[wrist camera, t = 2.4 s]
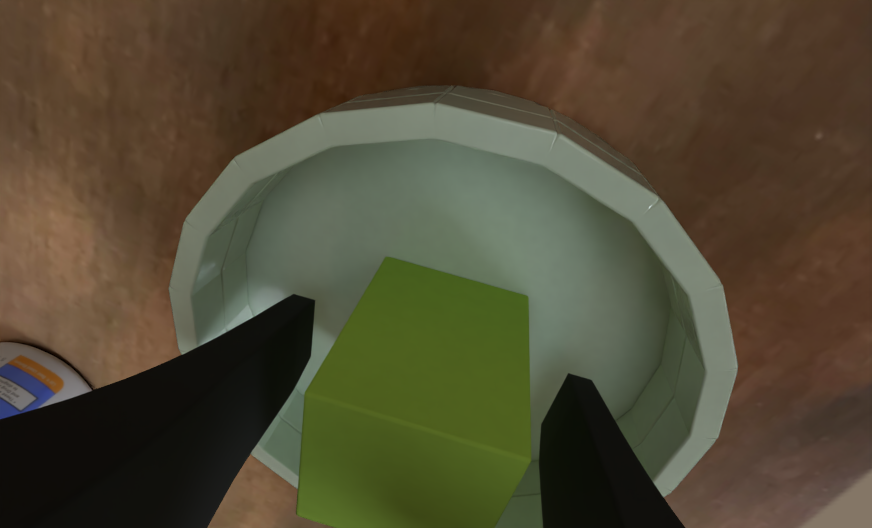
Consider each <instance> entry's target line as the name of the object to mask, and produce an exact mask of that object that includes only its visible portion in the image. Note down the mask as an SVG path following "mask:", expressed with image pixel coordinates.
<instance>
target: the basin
mask: <svg viewBox="0 0 872 528" xmlns="http://www.w3.org/2000/svg"><path fill="white" fill-rule="evenodd" d="M385 257H391V258H395V259H398V260H402V261H406V262H409V263H413V264H416V265H420V266H423V267H427V268H430V269H434V270H438V271H441V272H445V273H448V274H452V275H455V276H459V277H462V278H466V279H470V280H473V281H477V282H480V283H484V284H487V285H491V286H494V287H498V288H502V289H505V290H509V291H512V292H516V293H519V294H523V295H526V296H528V298H529V351H530V407H531V463H530V464H529V466H528V468H527V470H526V472H525V474H524V475H523V477H522V479H521V481H520V483H519V484H518V486H517V488H516V490H515V492H514V493H513V495H512V497H511V499H510V501H509V503H508V504H507V506H506V508H505V510H504V512H503V513H502V515H501V517H500V519H499V521H498V523H497V524H496V526H495V528H543V520H542V505H541V490H540V474H539V449H540V433H541V423H542V422H543V420H544V418H545V416H546V414H547V412H548V410H549V408H550V407H551V405H552V403H553V401H554V399H555V397H556V395H557V393H558V391H559V390H560V388H561V386H562V384H563V382H564V380H565V378H566V376H567V374H568V373H570V374H573V375H577V376H580V377H584V378H587V379H591V380H592V381H593V383H594V385H595V386H596V388H597V390H598V391H599V393H600V395H601V397H602V398H603V400H604V402H605V404H606V406H607V407H608V409H609V411H610V413H611V414H612V416H613V418H614V420H615V421H616V423H617V425H618V426H619V428H620V430H621V432H622V433H623V435H624V437H625V438H626V440H627V442H628V443H629V445H630V447H631V448H632V450H633V452H634V453H635V455H636V456H637V458H638V460H639V461H640V463H641V464H642V466H643V467H644V469H645V471H646V472H647V474H648V475H649V477H650V478H651V480H652V481H653V483H654V484H655V486H656V487H657V489H658V490H659V492H660V493H661V495H662V496H663V497H665V496H667V495H668V494H670V493H671V492H672V491H673V490H674V489H675V488H676V487H677V486H678V485H679V483H680V482H681V481H682V480H683V479H684V478H685V476H686V475H687V474H688V473H689V472H690V471H691V469H692V468H693V467H694V466H695V465H696V464H697V462H698V461H699V460H700V459H701V458H702V457H703V455H704V454H705V453H706V452H707V451H708V450H709V449H710V447H711V446H712V445H713V444H714V443H715V442H716V439H717V438H718V436H719V433H720V429H721V426H722V422H723V419H724V416H725V412H726V409H727V405H728V402H729V399H730V395H731V392H732V388H733V385H734V382H735V378H736V375H737V371H738V369H737V368H738V362H737V357H736V352H735V346H734V341H733V336H732V330H731V325H730V320H729V314H728V309H727V304H726V298H725V293H724V288H723V285H722V284H721V282H720V279H719V277H718V276H717V275H716V273H715V272H714V271H713V269H712V268H711V266H710V265H709V264H708V262H707V261H706V259H705V258H704V257H703V255H702V254H701V252H700V251H699V250H698V248H697V247H696V245H695V244H694V243H693V241H692V240H691V239H690V237H689V236H688V234H687V233H686V232H685V230H684V229H683V227H682V226H681V225H680V223H679V222H678V220H677V219H676V218H675V216H674V215H673V214H672V212H671V211H670V209H669V208H668V207H667V205H666V204H665V202H664V201H663V200H662V198H661V197H660V196H659V195H658V193H657V192H656V191H655V190H654V188H653V187H652V186H651V185H650V183H649V182H648V181H647V180H646V178H645V177H644V176H643V174H642V173H641V172H640V171H639V169H638V168H637V167H636V166H635V164H634V163H632V162H631V161H630V160H629V159H628V158H627V157H625V156H624V155H622V154H621V153H619V152H618V151H616V150H615V149H613V148H612V147H611V146H610V145H609V144H608V143H606V142H605V141H604V140H603V139H602V138H601V137H599V136H598V135H596V134H594V133H593V132H591V131H590V130H588V129H586V128H585V127H583V126H582V125H580V124H579V123H577V122H575V121H574V120H572V119H571V118H569V117H567V116H565V115H563V114H560V113H558V112H556V111H555V110H551V109H549V108H548V107H545V106H542V105H540V104H538V103H536V102H533V101H530V100H526V99H523V98H519V97H516V96H512V95H509V94H505V93H502V92H498V91H493V90H486V89H479V88H471V87H464V86H451V85H450V86H416V87H410V88H403V89H397V90H390V91H384V92H381V93H375V94H366V95H363V96H358V97H356V98H354V99H351V100H349V101H347V102H345V103H342V104H340V105H338V106H335V107H333V108H331V109H328V110H326V111H324V112H321V113H319V114H317V115H315V116H313V117H311V118H309V119H307V120H305V121H303V122H301V123H299V124H297V125H295V126H293V127H292V128H290V129H288V130H286V131H284V132H282V133H280V134H278V135H276V136H274V137H272V138H270V139H268V140H266V141H264V142H262V143H260V144H258V145H256V146H254V147H253V148H251V149H249V150H247V151H245V152H243V153H241V154H239V155H237V156H235V158H234V159H232V160H231V161H230V163H229V164H228V165H227V166H226V168H225V169H224V170H223V171H222V173H221V174H220V175H219V176H218V178H217V179H216V180H215V182H214V183H213V184H212V185H211V187H210V188H209V189H208V190H207V192H206V193H205V194H204V195H203V197H202V198H201V199H200V200H199V202H198V203H197V204H196V206H195V207H194V208H193V209H192V211H191V212H190V213H189V214H188V216H187V217H186V219H185V221H184V223H183V228H182V232H181V236H180V240H179V245H178V249H177V253H176V258H175V262H174V266H173V271H172V275H171V279H170V284H169V286H170V287H169V295H170V301H171V307H172V313H173V319H174V325H175V331H176V336H177V342H178V348H179V350H180V353H181V355H183V354H185V353H187V352H189V351H191V350H193V349H195V348H197V347H199V346H201V345H203V344H205V343H207V342H209V341H211V340H213V339H214V338H216V337H218V336H220V335H222V334H224V333H226V332H227V331H229V330H231V329H233V328H235V327H236V326H238V325H240V324H242V323H244V322H245V321H247V320H249V319H251V318H252V317H254V316H256V315H258V314H259V313H261V312H263V311H264V310H266V309H268V308H270V307H271V306H273V305H275V304H276V303H278V302H280V301H281V300H283V299H285V298H287V297H289V296H290V295H292V294H296V295H300V296H303V297H307V298H310V299H313V300H315V312H314V325H313V338H312V351H311V358H310V359H309V361H308V363H307V365H306V367H305V369H304V371H303V373H302V375H301V377H300V379H299V381H298V383H297V385H296V387H295V389H294V390H293V392H292V393H291V395H290V396H289V398H288V399H287V401H286V402H285V404H284V405H283V407H282V408H281V410H280V411H279V413H278V414H277V416H276V417H275V419H274V420H273V422H272V423H271V424H270V426H269V427H268V429H267V430H266V432H265V433H264V435H263V436H262V438H261V439H260V441H259V442H258V444H257V445H256V446H255V448H254V449H253V451H252V452H251V455H252V456H254V457H255V458H256V459H258V460H259V461H260V462H262V463H263V464H264V465H266V466H267V467H268V468H270V469H271V470H272V471H274V472H275V473H277V474H278V475H279V476H281V477H282V478H283V479H285V480H286V481H287V482H289V483H290V484H291V485H293V486H294V487H295V488H297V489H298V480H299V465H300V451H301V437H302V423H303V409H304V395H305V391H306V389H307V388H308V386H309V384H310V383H311V381H312V379H313V378H314V376H315V374H316V373H317V371H318V369H319V368H320V366H321V364H322V363H323V361H324V359H325V358H326V356H327V354H328V353H329V351H330V349H331V347H332V346H333V344H334V342H335V341H336V339H337V337H338V336H339V334H340V332H341V331H342V329H343V327H344V326H345V324H346V322H347V321H348V319H349V317H350V316H351V314H352V312H353V311H354V309H355V307H356V305H357V304H358V302H359V300H360V299H361V297H362V295H363V294H364V292H365V290H366V289H367V287H368V285H369V284H370V282H371V280H372V279H373V277H374V275H375V274H376V272H377V270H378V269H379V267H380V265H381V263H382V262H383V260H384V258H385Z"/></svg>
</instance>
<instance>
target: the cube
mask: <svg viewBox="0 0 872 528" xmlns="http://www.w3.org/2000/svg"><path fill="white" fill-rule="evenodd" d="M530 463H531V407H530V351H529V298H528V296H526V295H523V294H519V293H516V292H512V291H509V290H505V289H502V288H498V287H494V286H491V285H487V284H484V283H480V282H477V281H473V280H470V279H466V278H462V277H459V276H455V275H452V274H448V273H445V272H441V271H438V270H434V269H430V268H427V267H423V266H420V265H416V264H413V263H409V262H406V261H402V260H398V259H395V258H391V257H385V258H384V260H383V262H382V263H381V265H380V267H379V269H378V270H377V272H376V274H375V275H374V277H373V279H372V280H371V282H370V284H369V285H368V287H367V289H366V290H365V292H364V294H363V295H362V297H361V299H360V300H359V302H358V304H357V305H356V307H355V309H354V311H353V312H352V314H351V316H350V317H349V319H348V321H347V322H346V324H345V326H344V327H343V329H342V331H341V332H340V334H339V336H338V337H337V339H336V341H335V342H334V344H333V346H332V347H331V349H330V351H329V353H328V354H327V356H326V358H325V359H324V361H323V363H322V364H321V366H320V368H319V369H318V371H317V373H316V374H315V376H314V378H313V379H312V381H311V383H310V384H309V386H308V388H307V389H306V391H305V395H304V409H303V423H302V437H301V451H300V465H299V480H298V494H297V508H296V515H298V516H300V517H303V518H306V519H309V520H312V521H316V522H319V523H322V524H325V525H328V526H332V527H335V528H495V526H496V524H497V523H498V521H499V519H500V517H501V515H502V513H503V512H504V510H505V508H506V506H507V504H508V503H509V501H510V499H511V497H512V495H513V493H514V492H515V490H516V488H517V486H518V484H519V483H520V481H521V479H522V477H523V475H524V474H525V472H526V470H527V468H528V466H529V464H530Z"/></svg>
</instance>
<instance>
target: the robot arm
mask: <svg viewBox="0 0 872 528" xmlns="http://www.w3.org/2000/svg"><path fill="white" fill-rule="evenodd" d="M314 312H315V300H313V299H310V298H307V297H303V296H300V295H296V294H292V295H290V296H289V297H287V298H285V299H283V300H281V301H280V302H278V303H276V304H275V305H273V306H271V307H270V308H268V309H266V310H264V311H263V312H261V313H259V314H258V315H256V316H254V317H252V318H251V319H249V320H247V321H245V322H244V323H242V324H240V325H238V326H236V327H235V328H233V329H231V330H229V331H227V332H226V333H224V334H222V335H220V336H218V337H216V338H214V339H213V340H211V341H209V342H207V343H205V344H203V345H201V346H199V347H197V348H195V349H193V350H191V351H189V352H187V353H185V354H183V355H180V356H178V357H176V358H174V359H172V360H170V361H167V362H165V363H163V364H161V365H158V366H156V367H153V368H151V369H149V370H146V371H144V372H141V373H139V374H136V375H134V376H131V377H129V378H126V379H124V380H121V381H118V382H115V383H112V384H110V385H107V386H104V387H101V388H98V389H95V390H93V391H90V392H87V393H84V394H81V395H78V396H76V397H73V398H70V399H67V400H64V401H60V402H57V403H54V404H51V405H47V406H44V407H41V408H38V409H34V410H31V411H27V412H24V413H20V414H17V415H13V416H10V417H6V418H3V419H0V528H207V527H208V525H209V523H210V521H211V519H212V518H213V516H214V514H215V512H216V510H217V509H218V507H219V505H220V503H221V501H222V500H223V498H224V496H225V494H226V492H227V491H228V489H229V487H230V485H231V483H232V482H233V480H234V478H235V477H236V475H237V474H238V472H239V470H240V469H241V467H242V466H243V464H244V463H245V461H246V460H247V458H248V457H249V455H250V454H251V452H252V451H253V449H254V448H255V446H256V445H257V444H258V442H259V441H260V439H261V438H262V436H263V435H264V433H265V432H266V430H267V429H268V427H269V426H270V424H271V423H272V422H273V420H274V419H275V417H276V416H277V414H278V413H279V411H280V410H281V408H282V407H283V405H284V404H285V402H286V401H287V399H288V398H289V396H290V395H291V393H292V392H293V390H294V389H295V387H296V385H297V383H298V381H299V379H300V377H301V375H302V373H303V371H304V369H305V367H306V365H307V363H308V361H309V359H310V358H311V351H312V338H313V325H314ZM539 474H540V490H541V505H542V520H543V528H685V527H684V526H683V524H682V523H681V522H680V520H679V519H678V517H677V516H676V515H675V513H674V512H673V510H672V509H671V508H670V506H669V505H668V503H667V502H666V500H665V499H664V498H663V496H662V495H661V493H660V492H659V490H658V489H657V487H656V486H655V484H654V483H653V481H652V480H651V478H650V477H649V475H648V474H647V472H646V471H645V469H644V467H643V466H642V464H641V463H640V461H639V460H638V458H637V456H636V455H635V453H634V452H633V450H632V448H631V447H630V445H629V443H628V442H627V440H626V438H625V437H624V435H623V433H622V432H621V430H620V428H619V426H618V425H617V423H616V421H615V420H614V418H613V416H612V414H611V413H610V411H609V409H608V407H607V406H606V404H605V402H604V400H603V398H602V397H601V395H600V393H599V391H598V390H597V388H596V386H595V385H594V383H593V381H592V380H591V379H587V378H584V377H580V376H577V375H573V374H570V373H568V374H567V376H566V378H565V380H564V382H563V384H562V386H561V388H560V390H559V391H558V393H557V395H556V397H555V399H554V401H553V403H552V405H551V407H550V408H549V410H548V412H547V414H546V416H545V418H544V420H543V422H542V423H541V433H540V449H539Z"/></svg>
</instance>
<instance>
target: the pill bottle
mask: <svg viewBox="0 0 872 528" xmlns="http://www.w3.org/2000/svg"><path fill="white" fill-rule="evenodd" d="M90 391H92V389H91V388H90V387H89V385H88V384H87V383H86V381H85V380H84V379H83V378H82V377H81V376H80V375H79V374H78V373H77V372H76V371H75V370H74V369H72V368H71V367H70V366H69V365H67V364H66V363H65V362H63V361H61V360H60V359H58V358H56V357H55V356H53V355H51V354H49V353H47V352H44V351H42V350H40V349H37V348H34V347H32V346H28V345H24V344H20V343H13V342H1V343H0V419H3V418H6V417H10V416H13V415H17V414H20V413H24V412H27V411H31V410H34V409H38V408H41V407H44V406H47V405H51V404H54V403H57V402H60V401H64V400H67V399H70V398H73V397H76V396H78V395H81V394H84V393H87V392H90Z"/></svg>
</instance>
